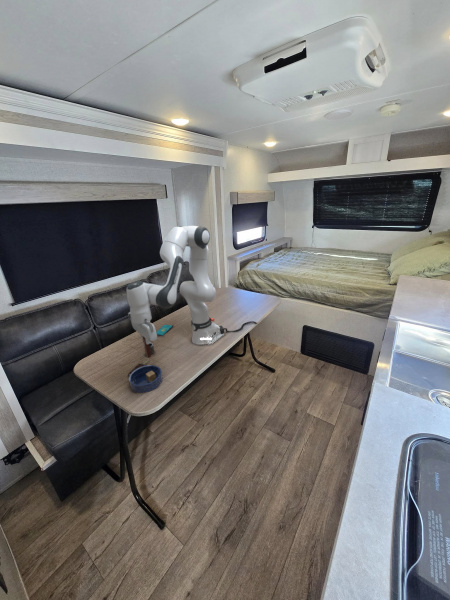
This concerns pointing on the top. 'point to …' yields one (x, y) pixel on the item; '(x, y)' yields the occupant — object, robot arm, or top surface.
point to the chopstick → (147, 348)
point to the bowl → (145, 379)
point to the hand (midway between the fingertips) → (146, 342)
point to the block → (150, 376)
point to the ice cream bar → (138, 367)
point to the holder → (151, 348)
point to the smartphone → (164, 330)
